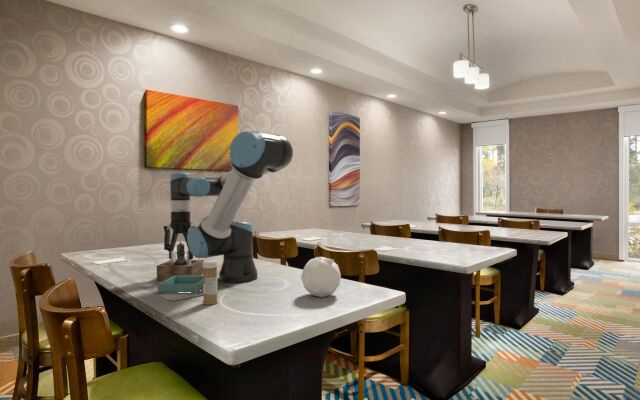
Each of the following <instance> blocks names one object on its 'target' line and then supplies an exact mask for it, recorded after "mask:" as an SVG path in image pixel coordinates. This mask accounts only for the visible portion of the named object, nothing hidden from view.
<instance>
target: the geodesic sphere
mask: <svg viewBox="0 0 640 400" xmlns="http://www.w3.org/2000/svg"><path fill="white" fill-rule="evenodd" d="M300 278H301V282H302V285H303V287H304V290H306V292H307V293H308V294H310V295H311V296H315V297H320V298H325V297H328V296H330V295H333V294H334V293H335V291H337V289H338V287H340V283H341V279H342V274H341V271H340V267H339V265H338V264H337V263H336V262H335V259H333V258H329V257H328V258H327V257H325V256H316V257H314V258H311V259H309V260H308V261H307V263H305V265H304V267H303V270H302V273H301V276H300Z"/></svg>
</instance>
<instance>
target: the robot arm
mask: <svg viewBox="0 0 640 400" xmlns="http://www.w3.org/2000/svg"><path fill="white" fill-rule="evenodd" d="M293 150H294V149H293V146H292V144H291V142H290V141H289V140H288V138H286V137H284V135H279V134H273V133H266V132H265V133H264V132H259V131H255V130H251V131H248V130H247V131H241V132H240V133H238V134H236V136H234V137H233V139H232V140H231V143H230V146H229V153H228V156H229V158H230V166H231V167H232V169H231V170H230V171H228V172H226V173H225V174H223V175H221V176H219V177H202V176H193V177H190V173H188V172H172V173H171V174H170V180H169V181H170V182H169V187H170V188H169V189H170V191H169V192H170V210H171V212H170V223H169V224H168V225H167V224H166V225H164V226H163V231H164V244H163V249H164V251H168V259H169V260H171V265H174V263H173V262H175V261H176V260H177V250H175V247H176V244H177V239H178V237H179V234H181V235H182V236H183V237H184V240H185V243H186V246H187V247H186V248H187V249H188V250H187V251H186V260H187V265H190V264H191V260H194V257H195V258H196V259H208V258H212V257H218V256H223V261H222V264H221V267H220V270H219V275H218V276H219V277H218V280H219V281H221V282H225V283H244V282H251V281H255V280H257V279H258V269H257V267H256V264H255V261H254V254H253V253H254V246H253V245H254V243H253V242H254V232H253V224H252V223H250V222H245V221H236V220H235V218H236V216H237V214H238V212H239V210H240V209H241V206H243V204H244V201H245V199H246V197H247V196H248V194H249V192H250V190H251V188H252V186H253V185H254V182H255V181H256V180H258V179H259V180H260V179H261V178H263V176H264V175H267V174H269V173H277V172H280V170H283V169H285V168H286V167H287V166H288V165H289V164H290V163H291V162H292V159H293V155H294V151H293ZM191 197H194V198H201V197H217V199H216V200H215V202H214V204H213V206H212V208H211V211H209V214H208V215H207V216H205V217H203V218H201V220H200V222H199V225H195V224H192V223H191V211H190V210H191ZM234 220H235V221H234ZM171 229H172V235H171Z"/></svg>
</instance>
